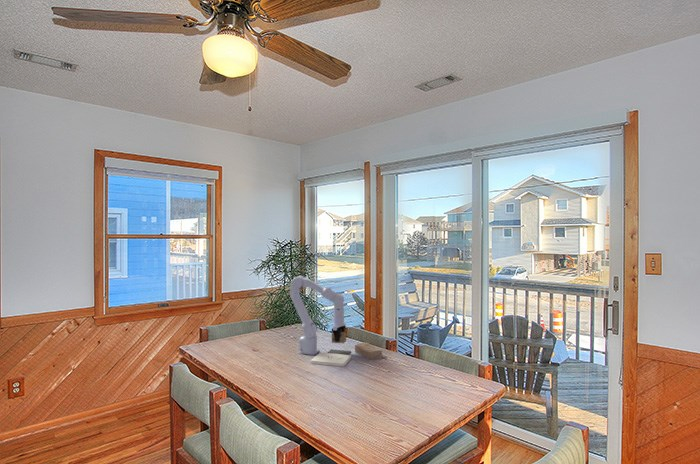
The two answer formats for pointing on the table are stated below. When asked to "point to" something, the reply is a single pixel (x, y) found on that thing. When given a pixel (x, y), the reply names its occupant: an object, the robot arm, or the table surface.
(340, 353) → the mat
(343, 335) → the block
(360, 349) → the brick
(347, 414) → the table surface
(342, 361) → the board
